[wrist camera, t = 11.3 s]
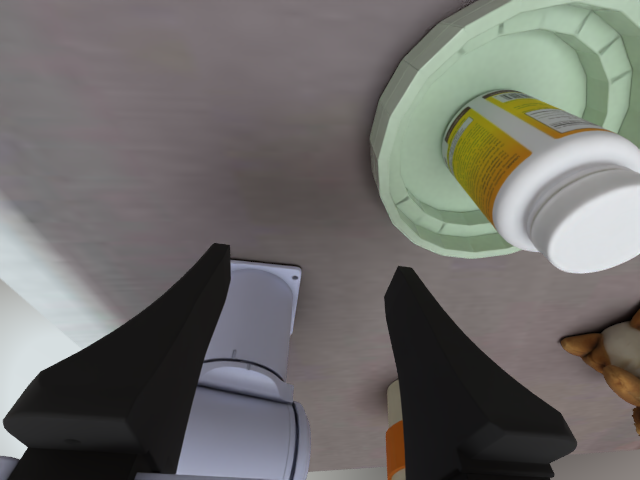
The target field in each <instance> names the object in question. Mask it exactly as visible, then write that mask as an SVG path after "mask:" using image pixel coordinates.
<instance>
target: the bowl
mask: <svg viewBox="0 0 640 480" xmlns="http://www.w3.org/2000/svg"><path fill="white" fill-rule="evenodd" d="M504 89H506V90H515V91H519V92H522V93H524V94H527V95H529V96H531V97H533V98H536V99H538V100H541V101H543V102H545V103H547V104H549V105H552V106H554V107H557V108H559V109H561V110H564V111H566V112H568V113H570V114H573V115H575V116H577V117H579V118H582V119H584V120H586V121H589V122H591V123H593V124H596V125H599V126H601V127H603V128H605V129H607V130H609V131H611V132H614V133H616V134H618V135H620V136H622V137H624V138H626V139H628V140H629V141H631V142H632V143H633V144H634V145H635V146H637V147H638V149H639V150H640V0H478V1H476V2H474V3H472V4H471V5H469V6H467V7H465V8H464V9H462V10H460V11H458V12H457V13H455V14H453V15H451V16H450V17H448V18H446V19H444V20H443V21H441V22H440V23H438V24H437V25H436V26H435V27H434V28H433V29H432V30H431V31H430V32H429V33H428V34H427V35H426V36H425V37H424V38H423V39H422V40H421V41H420V42H419V43H418V44H417V45H416V46H415V47H414V48H413V49H412V50H411V51H410V52H409V53H408V54H407V55H406V56H405V57H404V58H403V60H402V61H401V62H400V64H399V66H398V68H397V69H396V71H395V73H394V75H393V76H392V78H391V80H390V82H389V83H388V85H387V87H386V89H385V90H384V92H383V94H382V96H381V97H380V99H379V102H378V106H377V110H376V114H375V118H374V122H373V126H372V130H371V134H370V152H371V166H372V173H373V176H374V179H375V182H376V186H377V189H378V192H379V195H380V198H381V200H382V202H383V204H384V207H385V209H386V211H387V213H388V215H389V217H390V220H391V222H392V223H393V225H394V226H395V227H396V228H397V229H398V230H399V231H401V232H402V233H403V234H404V235H405V236H406V237H407V238H408V239H409V240H410V241H411V242H412V243H414V244H415V245H418V246H420V247H422V248H425V249H427V250H429V251H432V252H434V253H437V254H439V255H442V256H450V257H459V258H468V259H472V258H473V259H476V258H484V257H492V256H500V255H506V254H511V253H514V252H517V251H520V250H522V249H519V248H517V247H515V246H513V245H511V244H510V243H508V242H507V241H506V240H504V239H503V237H502V236H501V235H500V234H499V233H498V232H497V231H496V229H495V228H494V227H493V225H492V224H491V223H490V222H489V220H488V219H487V218H486V217H485V215H484V214H483V213H482V212H481V210H480V209H479V208H478V206H477V205H476V204H475V203H474V201H473V200H472V199H471V198H470V196H469V195H468V194H467V193H466V191H465V190H464V189H463V188H462V186H461V185H460V184H459V182H458V181H457V180H456V179H455V177H454V176H453V175H452V174H451V172H450V171H449V170H448V168H447V166H446V165H445V162H444V159H443V155H442V142H443V137H444V134H445V132H446V129H447V127H448V125H449V124H450V122H451V120H452V119H453V118H454V116H455V115H456V114H457V113H458V112H459V110H461V109H462V108H463V107H464V106H465V105H466V104H467V103H469V102H470V101H472V100H473V99H475V98H477V97H478V96H480V95H482V94H485V93H488V92H491V91H495V90H504Z"/></svg>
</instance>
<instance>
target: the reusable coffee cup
mask: <svg viewBox="0 0 640 480" xmlns="http://www.w3.org/2000/svg"><path fill="white" fill-rule="evenodd" d="M387 402H388V422H389V429H388V430H387V432H386V453H387V476H388V480H406V477H405V450H404V434H403V419H402V408H401V397H400V389H399V380H396V381H394V382H393V383H392V384H391V385H390V386H389V387H388V389H387Z"/></svg>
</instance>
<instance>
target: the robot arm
mask: <svg viewBox="0 0 640 480" xmlns="http://www.w3.org/2000/svg"><path fill="white" fill-rule="evenodd" d="M301 272H302V271H301V269H300V268H299V267H295V266H285V265H275V264H266V263H256V262H247V261H237V260H230V245H226V244H218V243H214V244H213V245H212V246H211V247H210V248H209V249H208V250H207V252H206V253H205V254H204V255H203V256H202V257H201V258H200V259H199V260H198V262H197V263H196V264H195V265H194V266H193V267H192V268H191V269H190V270H189V271H188V272H187V273H186V274H185V275H184V276H183V277H182V278H181V279H180V280H179V281H178V282H177V283H175V284H174V285H173V286H172V287H171V288H170V289H169V290H168V291H167V292H165V293H164V294H163V295H162V296H161V297H160V298H158V299H157V300H156V301H155V302H154V303H152V304H151V305H150V306H148V307H147V308H146V309H144V310H143V311H142V312H141V313H139V314H138V315H136V316H135V317H133V318H132V319H131V320H129V321H128V322H126V323H125V324H123V325H122V326H120V327H119V328H117V329H116V330H114V331H113V332H111V333H110V334H108V335H106V336H105V337H103V338H101V339H100V340H98V341H96V342H95V343H93V344H91V345H90V346H88V347H86V348H85V349H83V350H81V351H79V352H78V353H76V354H74V355H72V356H70V357H68V358H66V359H64V360H62V361H60V362H58V363H57V364H54V365H53V366H51V367H49V368H47V369H45V370H43V371H41V372H40V373H39V374H38V375H37V376H36V378H35V379H34V380H33V381H32V382H31V383H30V385H29V386H28V387H27V388H26V389H25V391H24V392H23V394H22V395H21V396H20V398H19V399H18V400H17V402H16V403H15V404H14V406H13V407H12V408H11V410H10V411H9V412H8V414H7V415H6V417H5V418H4V419H3V425H4V428H5V429H6V430H7V431H8V432H9V433H10V434H11V435H13V436H14V437H15V438H17V439H18V440H19V441H21V442H22V443H23V444H24V445H26V446H27V447H28V448H27V450H26V451H25V453H24V455H23V456H22V458H21V459H20V460H19V459H16V458H13V457H6V456H0V480H306V478H307V474H308V469H309V462H310V453H311V431H310V425H309V421H308V418H307V416H306V413H305V410H304V408H303V406H302V405H301V404H300V403H299V402H296V401H293V392H294V386H293V385H291V384H288V383H286V378H287V366H288V354H289V342H290V334H292V332H293V325H294V319H295V312H296V306H297V299H298V293H299V286H300V280H301ZM294 276H297V277H294ZM384 300H385V313H386V321H387V325H388V330H389V335H390V339H391V344H392V349H393V353H394V358H395V362H396V367H397V373H398V380H399V389H400V397H401V408H402V419H403V434H404V450H405V477H406V480H550V478H552V477H554V472H553V470H552V468H551V466H550V464H549V463H551V462H553V461H555V460H557V459H559V458H561V457H564V456H566V455H568V454H569V453H571V452H573V451H574V450H575V448H576V446H577V441H576V439H575V437H574V436H573V434H572V432H571V430H570V428H569V427H568V425H567V423H566V421H565V420H564V418H563V416H562V414H561V413H560V412H559V411H557V410H556V409H554V408H553V407H552V406H550V405H549V404H547V403H546V402H544V401H543V400H542V399H540V398H539V397H537V396H536V395H534V394H533V393H532V392H530V391H529V390H528V389H526V388H525V387H524V386H523V385H521V384H520V383H519V382H517V381H516V380H515V379H514V378H512V377H511V376H510V375H509V374H507V373H506V372H505V371H504V370H503V369H501V368H500V367H499V366H498V365H497V364H496V363H495V362H493V361H492V360H491V359H490V358H489V357H488V356H487V355H486V354H485V353H483V352H482V351H481V350H480V349H479V348H478V347H477V346H476V345H475V344H474V343H473V342H472V341H471V340H470V339H469V338H468V337H467V336H466V335H465V334H464V333H463V331H462V330H461V329H460V328H459V327H458V326H457V325H456V324H455V323H454V321H453V320H452V319H451V318H450V317H449V316H448V314H447V313H446V312H445V311H444V310H443V308H442V307H441V306H440V305H439V303H438V302H437V301H436V300H435V298H434V297H433V296H432V294H431V293H430V292H429V290H428V289H427V288H426V286H425V285H424V284H423V282H422V281H421V279H420V278H419V277H418V275H417V274H416V273H415V271H414V270H413V269H412V268H410V267H402V266H398V267H397V270H396V272H395V274H394V276H393V278H392V281H391V283H390V285H389V287H388V289H387V292H386V294H385V296H384Z"/></svg>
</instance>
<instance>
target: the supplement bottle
mask: <svg viewBox="0 0 640 480" xmlns="http://www.w3.org/2000/svg"><path fill="white" fill-rule="evenodd" d="M442 155H443V159H444V162H445V165H446V166H447V168H448V170H449V171H450V172H451V174H452V175H453V176H454V177H455V179H456V180H457V181H458V182H459V184H460V185H461V186H462V188H463V189H464V190H465V191H466V193H467V194H468V195H469V196H470V198H471V199H472V200H473V201H474V203H475V204H476V205H477V206H478V208H479V209H480V210H481V212H482V213H483V214H484V215H485V217H486V218H487V219H488V220H489V222H490V223H491V224H492V225H493V227H494V228H495V229H496V231H497V232H498V233H499V234H500V235H501V236H502V237H503V239H504V240H506V241H507V242H508V243H510V244H511V245H513V246H515V247H517V248H519V249H522V250H527V251H532V252H540V253H542V254H543V255H544V256H545V257H546V258H547V259H548V260H549V261H550V262H551V264H552V265H554V266H555V267H556V268H558V269H560V270H563V271H566V272H570V273H591V272H597V271H601V270H605V269H608V268H611V267H614V266H617V265H619V264H622V263H624V262H626V261H628V260H630V259H632V258H633V257H635V256H637V255H639V254H640V150H639V149H638V147H637V146H635V145H634V144H633V143H632V142H631V141H629V140H628V139H626V138H624V137H622V136H620V135H618V134H616V133H614V132H611V131H609V130H607V129H605V128H603V127H601V126H599V125H596V124H593V123H591V122H589V121H586V120H584V119H582V118H579V117H577V116H575V115H573V114H570V113H568V112H566V111H564V110H561V109H559V108H557V107H554V106H552V105H549V104H547V103H545V102H543V101H541V100H538V99H536V98H533V97H531V96H529V95H527V94H524V93H522V92H519V91H515V90H506V89H504V90H495V91H491V92H488V93H485V94H482V95H480V96H478V97H477V98H475V99H473V100H472V101H470V102H469V103H467V104H466V105H465V106H464V107H463V108H462V109H461V110H459V112H458V113H457V114H456V115H455V116H454V118H453V119H452V120H451V122H450V124H449V125H448V127H447V129H446V132H445V134H444V137H443V142H442Z"/></svg>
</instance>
